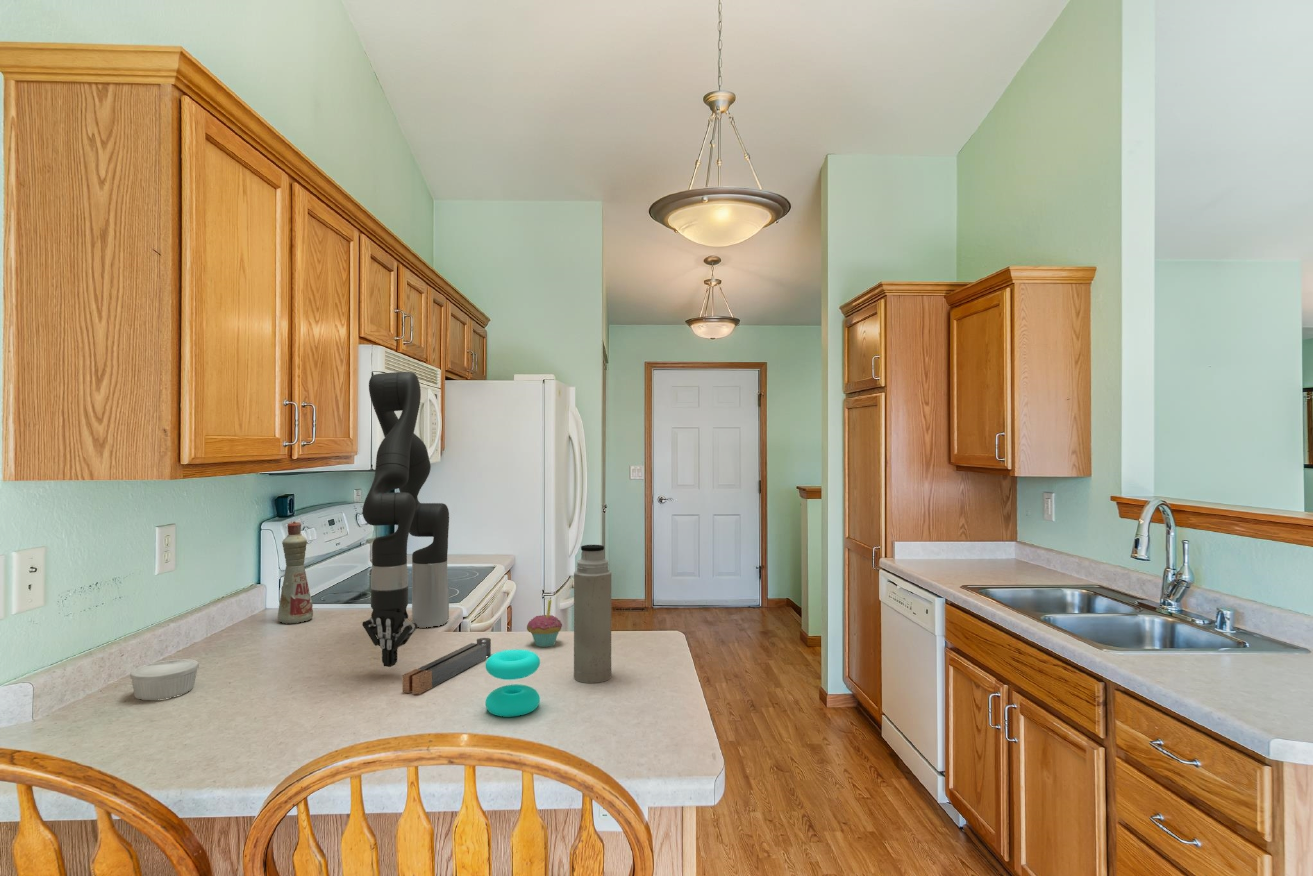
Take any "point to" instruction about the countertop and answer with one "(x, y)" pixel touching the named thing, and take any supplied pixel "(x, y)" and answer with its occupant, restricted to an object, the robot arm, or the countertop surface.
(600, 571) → the thermos bottle
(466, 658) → the base
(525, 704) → the donuts
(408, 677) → the tongs arm
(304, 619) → the bottle
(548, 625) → the cupcake
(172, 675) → the ramekin
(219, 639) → the countertop surface
